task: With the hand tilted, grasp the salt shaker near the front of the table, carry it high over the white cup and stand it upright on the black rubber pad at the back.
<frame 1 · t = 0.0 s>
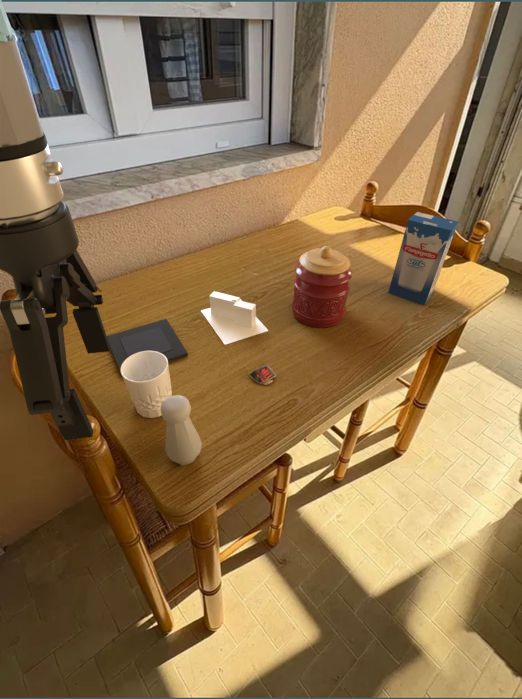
hand: (90, 388, 45), 22 cm above the table, tool pointing down, fingers open, 13 cm apart
kitchen canister: (317, 313, 94), on the table
napkin holder: (233, 320, 92), on the table
milk carton: (409, 294, 102), on the table
matchbox: (263, 377, 77), on the table
white cup: (154, 405, 71), on the table
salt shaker: (185, 455, 63), on the table
rubber pad: (146, 346, 84), on the table
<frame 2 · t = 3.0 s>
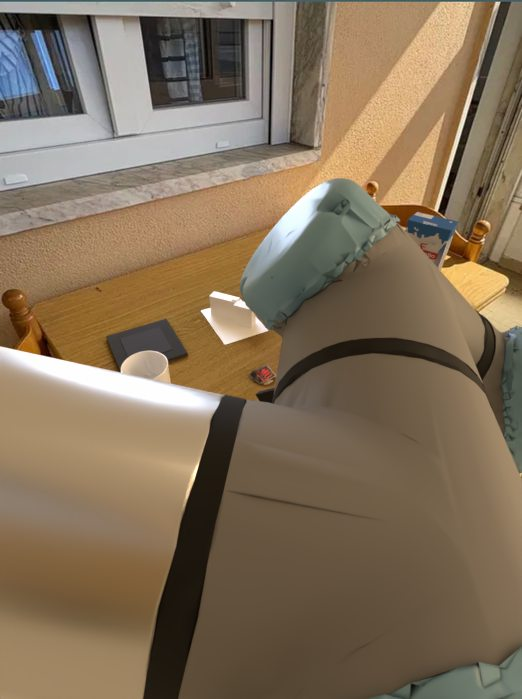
hand: (227, 432, 48), 15 cm above the table, tool tilted 45°, fingers open, 13 cm apart
nothing on the table moved.
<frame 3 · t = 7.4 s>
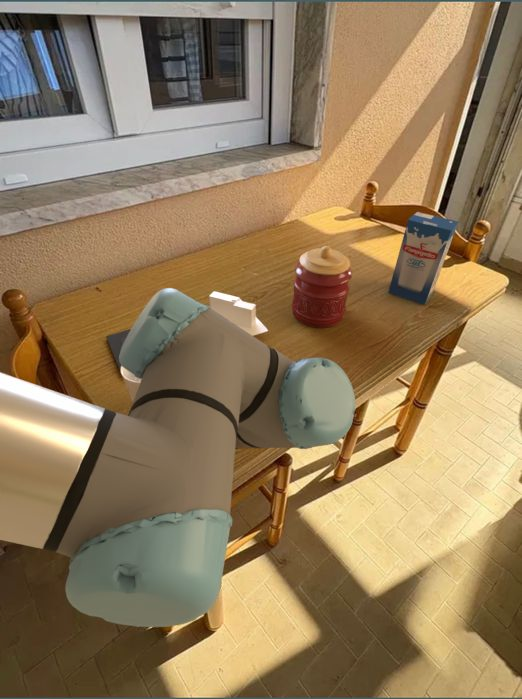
hand: (167, 427, 62), 4 cm above the table, tool tilted 45°, fingers closed on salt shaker, 3 cm apart
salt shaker: (185, 455, 63), on the table, touching gripper
everything else where it was.
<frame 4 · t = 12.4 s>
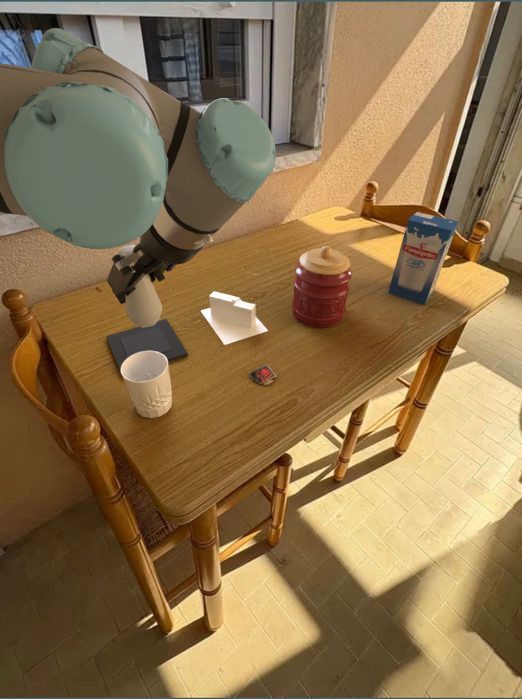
hand: (128, 291, 64), 20 cm above the table, tool tilted 45°, fingers closed on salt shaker, 3 cm apart
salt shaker: (146, 321, 64), point 16 cm above the table, touching gripper
everything else where it was.
when the fingers open (5 cm above the table, at t = 17.6 s): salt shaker stays where it is, resting on rubber pad.
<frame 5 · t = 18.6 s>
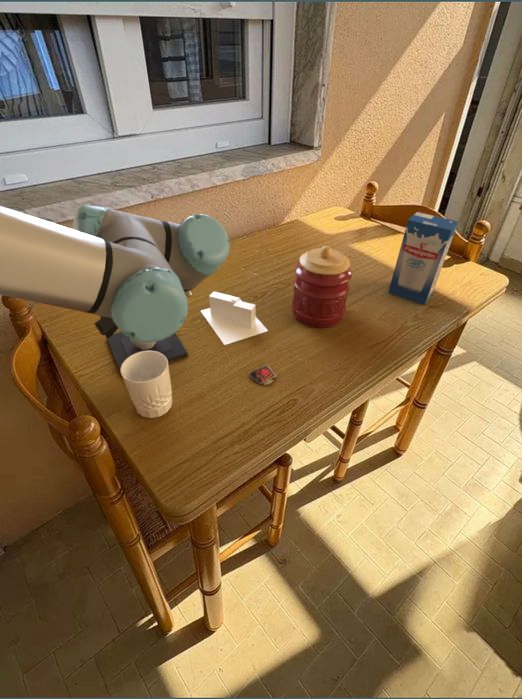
hand: (133, 317, 80), 7 cm above the table, tool tilted 45°, fingers open, 13 cm apart
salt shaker: (146, 344, 83), point 1 cm above the table, touching rubber pad
everything else where it was.
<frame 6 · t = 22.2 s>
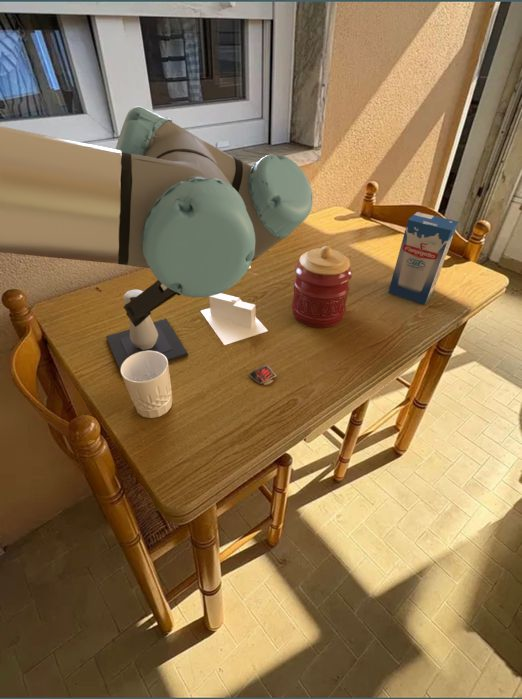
hand: (164, 302, 68), 17 cm above the table, tool tilted 45°, fingers open, 13 cm apart
nothing on the table moved.
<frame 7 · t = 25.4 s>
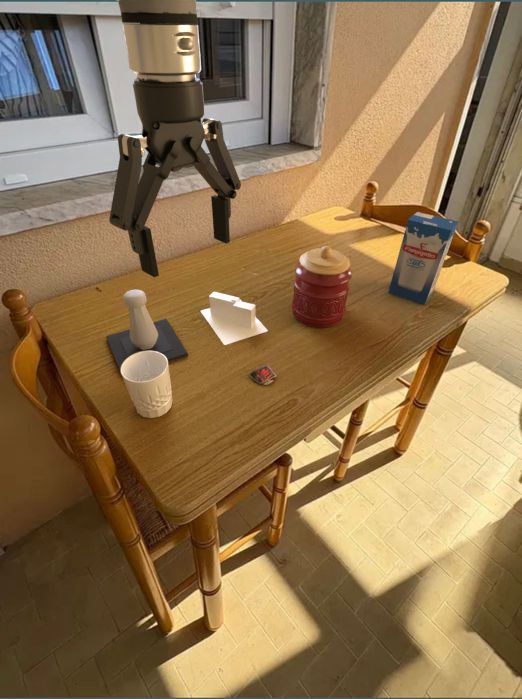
hand: (188, 255, 55), 29 cm above the table, tool pointing down, fingers open, 13 cm apart
nothing on the table moved.
at the end: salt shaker inside the target area on the rubber pad (0.1 cm from its centre), point 0.7 cm above the rubber pad's base; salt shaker tilted 0°; the gripper is holding nothing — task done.
